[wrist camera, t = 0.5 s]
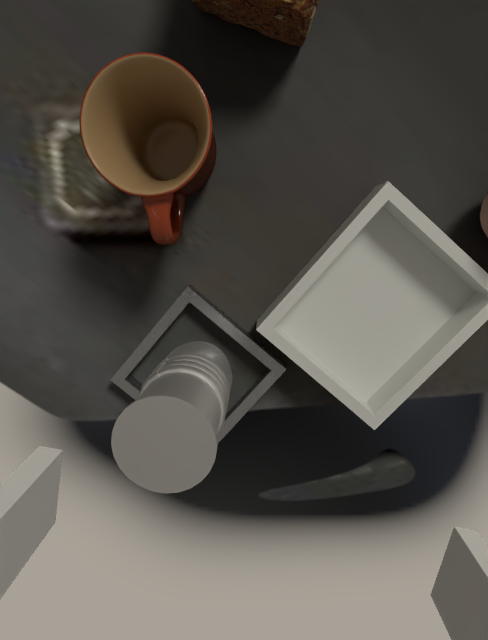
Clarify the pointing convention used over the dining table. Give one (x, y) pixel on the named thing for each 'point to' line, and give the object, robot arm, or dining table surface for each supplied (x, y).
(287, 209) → the dining table surface
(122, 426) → the grey tall round piece
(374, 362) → the bin
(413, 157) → the dining table surface
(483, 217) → the egg
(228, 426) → the grey square frame
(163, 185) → the mug
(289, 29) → the bread
